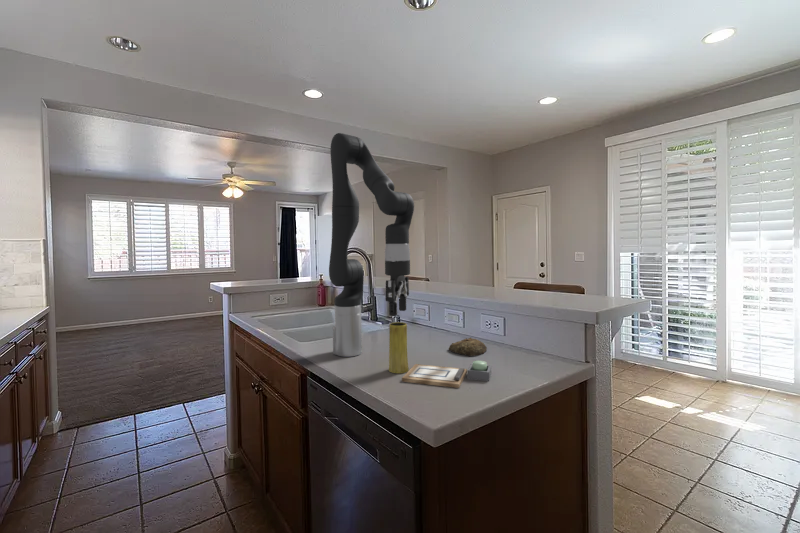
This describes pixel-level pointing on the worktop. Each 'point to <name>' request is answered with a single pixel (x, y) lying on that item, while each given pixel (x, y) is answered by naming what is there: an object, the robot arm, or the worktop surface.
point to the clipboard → (435, 375)
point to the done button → (480, 365)
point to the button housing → (479, 374)
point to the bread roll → (468, 347)
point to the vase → (398, 348)
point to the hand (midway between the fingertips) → (398, 313)
